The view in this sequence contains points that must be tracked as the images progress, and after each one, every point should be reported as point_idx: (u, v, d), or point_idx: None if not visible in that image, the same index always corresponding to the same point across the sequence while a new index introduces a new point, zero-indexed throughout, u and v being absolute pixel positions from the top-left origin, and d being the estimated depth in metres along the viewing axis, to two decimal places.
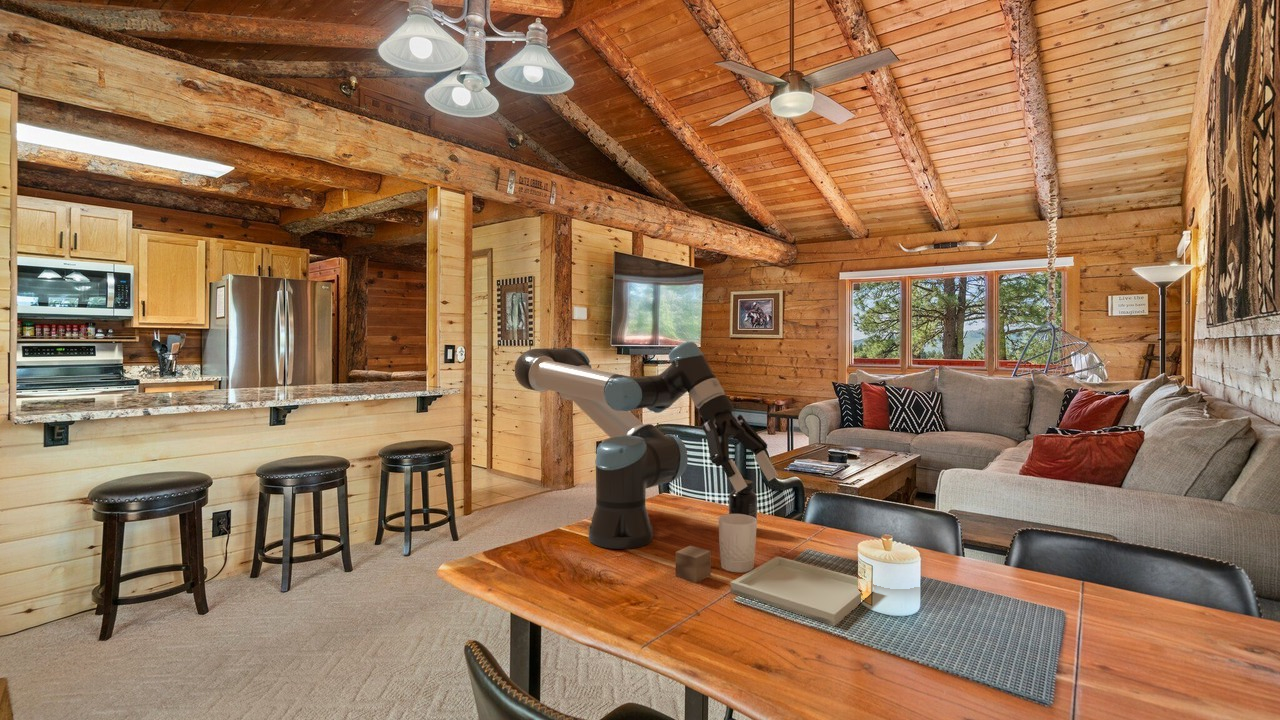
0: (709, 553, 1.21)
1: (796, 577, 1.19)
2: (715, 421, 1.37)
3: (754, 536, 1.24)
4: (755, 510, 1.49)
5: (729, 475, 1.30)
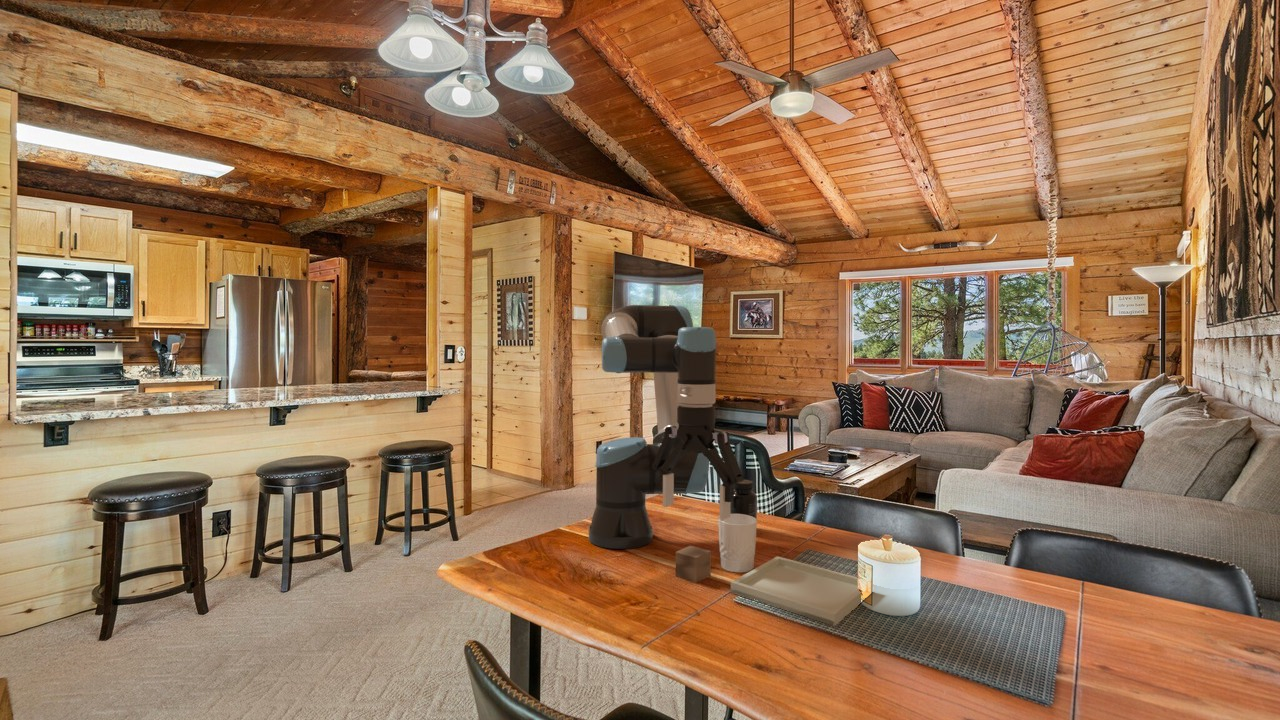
0: (709, 553, 1.21)
1: (796, 577, 1.19)
2: (677, 430, 1.23)
3: (754, 536, 1.24)
4: (755, 510, 1.49)
5: None
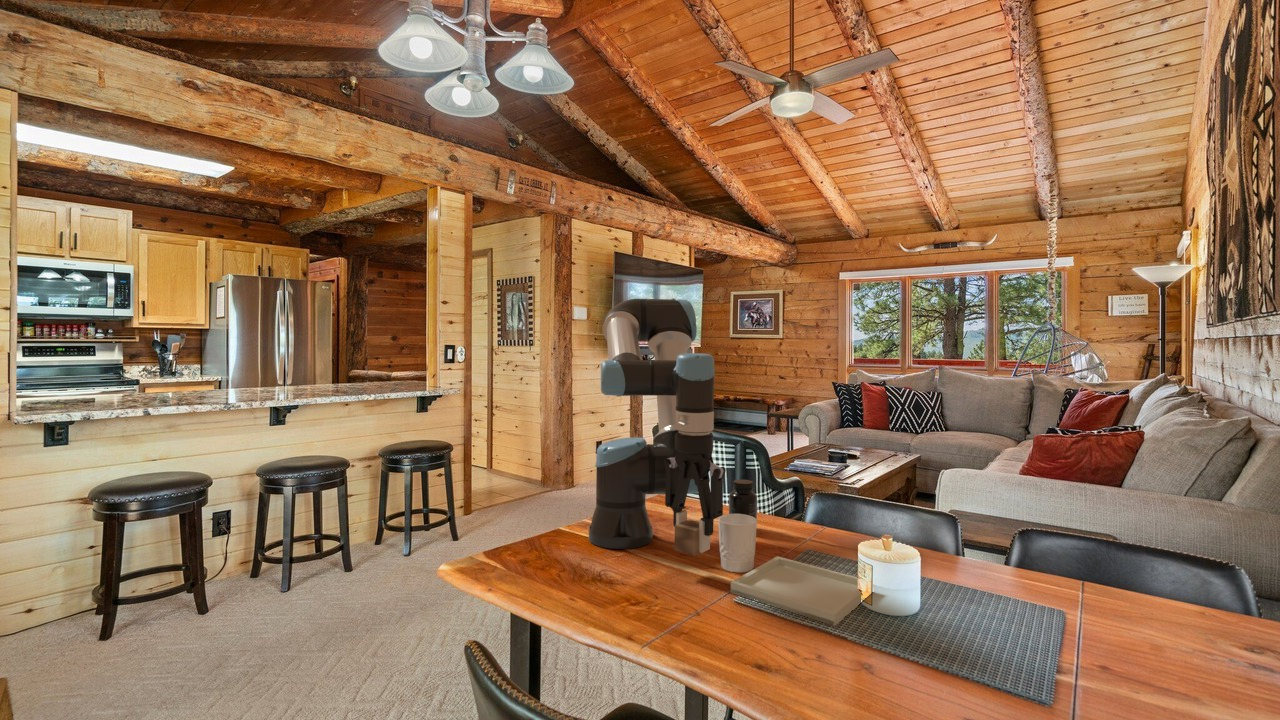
0: None
1: (796, 577, 1.19)
2: (675, 457, 1.23)
3: (754, 536, 1.24)
4: (755, 510, 1.49)
5: None
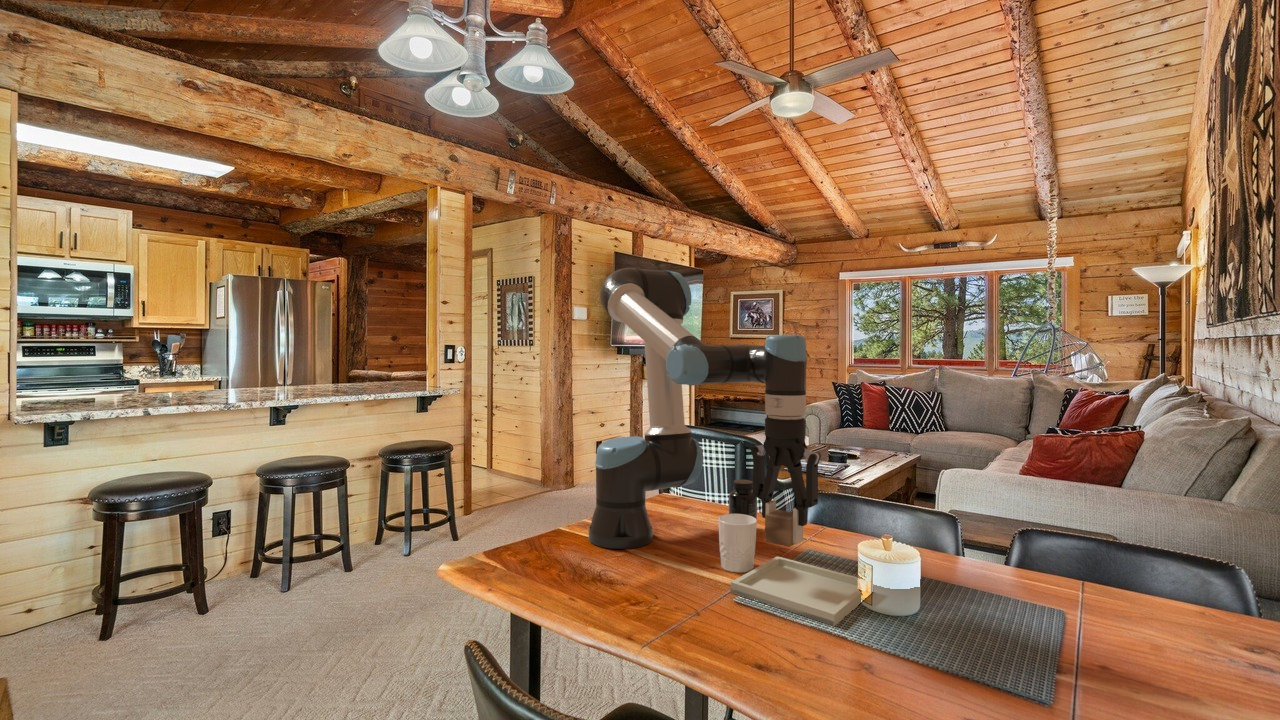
0: None
1: (796, 577, 1.19)
2: (763, 444, 1.18)
3: (754, 536, 1.24)
4: (755, 510, 1.49)
5: None
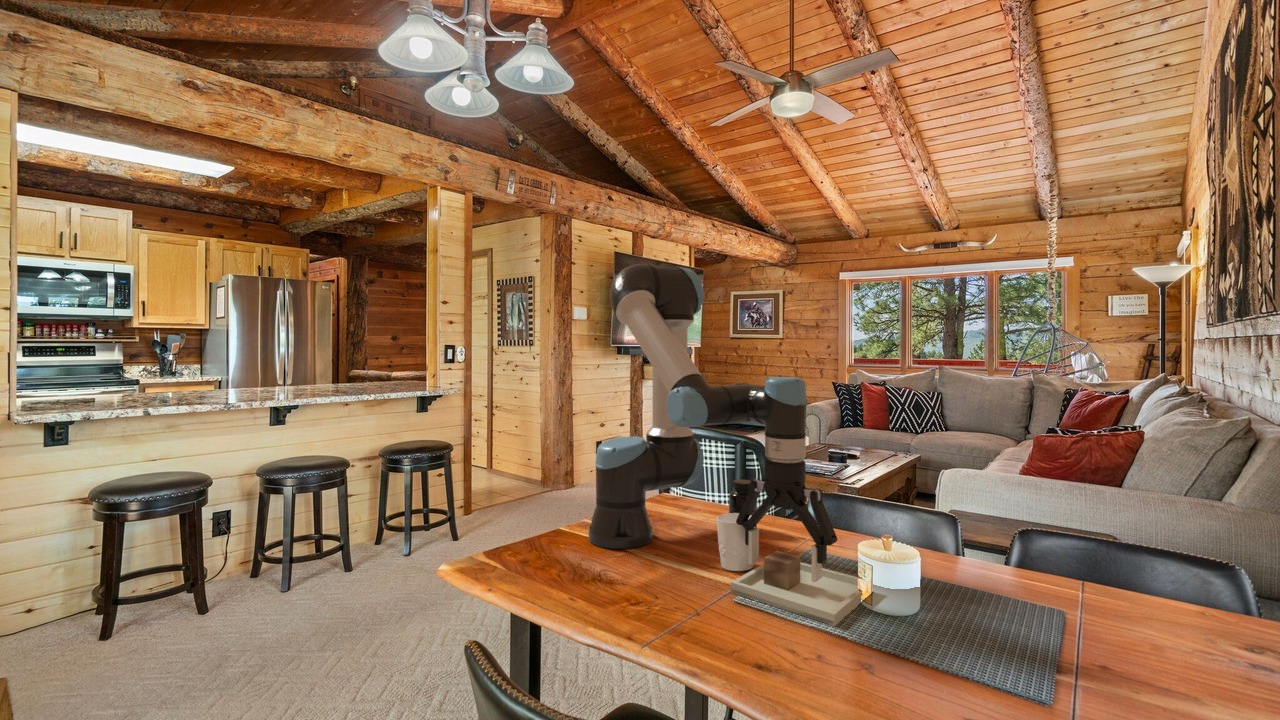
0: (799, 559, 1.16)
1: None
2: (763, 484, 1.18)
3: None
4: (755, 510, 1.49)
5: None
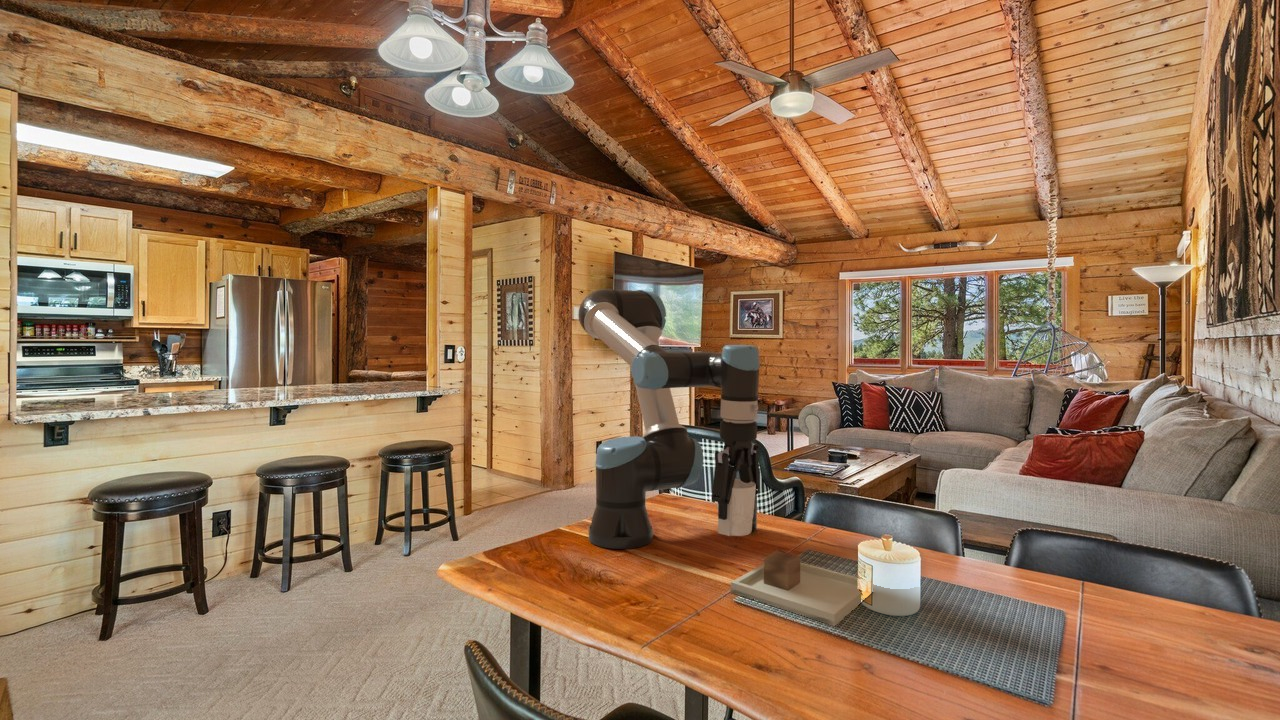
0: (799, 559, 1.16)
1: None
2: (730, 450, 1.22)
3: (752, 500, 1.24)
4: (755, 510, 1.49)
5: (720, 517, 1.23)
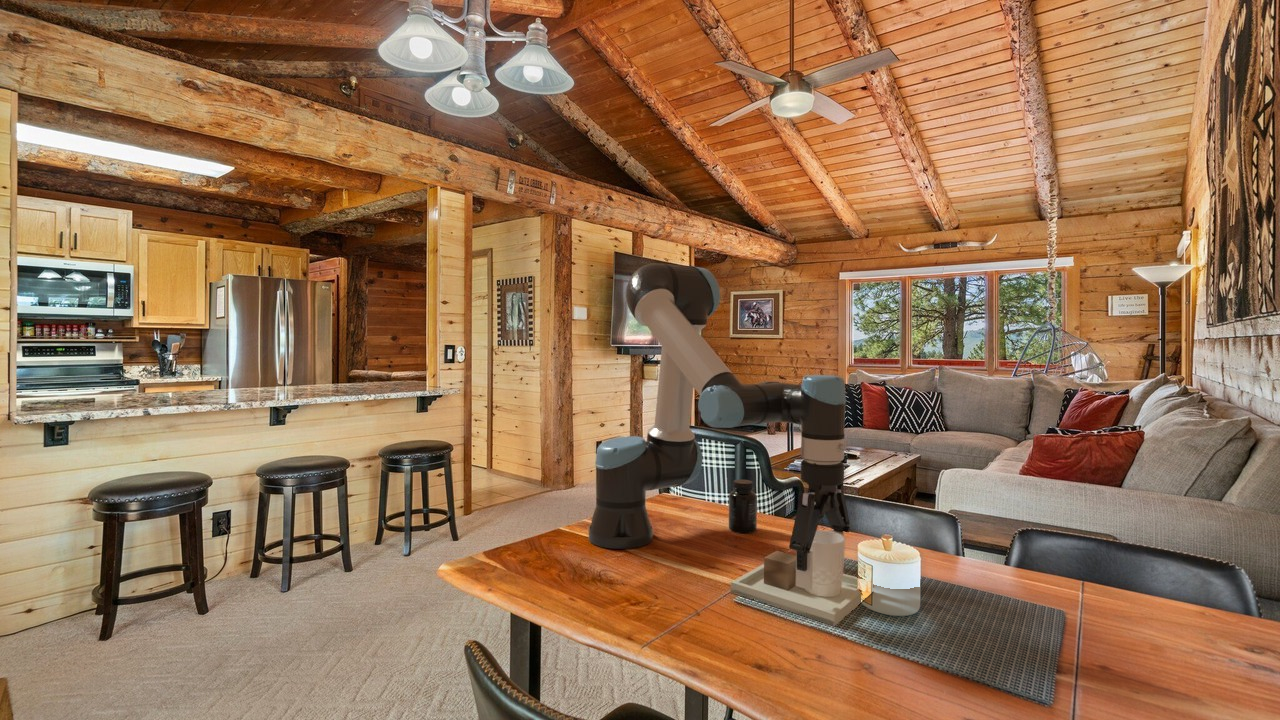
0: None
1: None
2: (816, 494, 1.07)
3: (843, 556, 1.11)
4: (755, 510, 1.49)
5: (799, 568, 1.05)
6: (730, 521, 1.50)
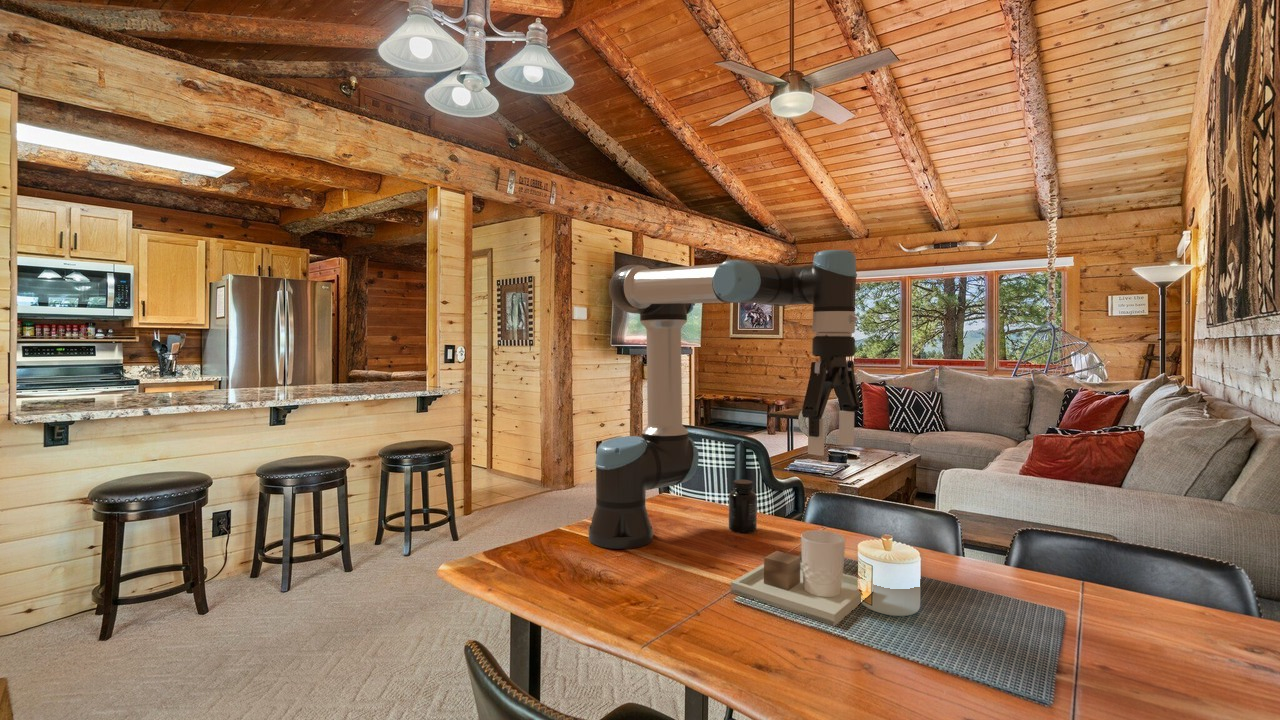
0: (799, 559, 1.16)
1: None
2: (828, 364, 1.09)
3: (843, 556, 1.11)
4: (755, 510, 1.49)
5: (811, 434, 1.07)
6: (730, 521, 1.50)
